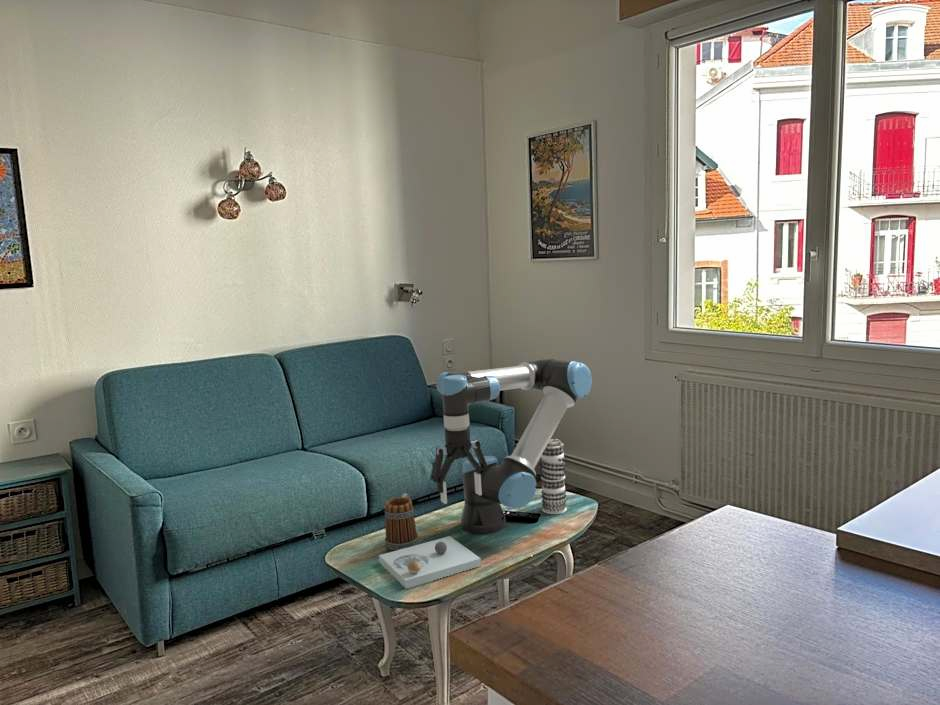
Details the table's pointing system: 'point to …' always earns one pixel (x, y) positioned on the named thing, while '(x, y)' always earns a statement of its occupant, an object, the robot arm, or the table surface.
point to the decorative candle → (553, 478)
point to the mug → (400, 524)
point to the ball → (440, 547)
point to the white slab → (429, 562)
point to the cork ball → (414, 566)
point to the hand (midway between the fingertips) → (461, 498)
